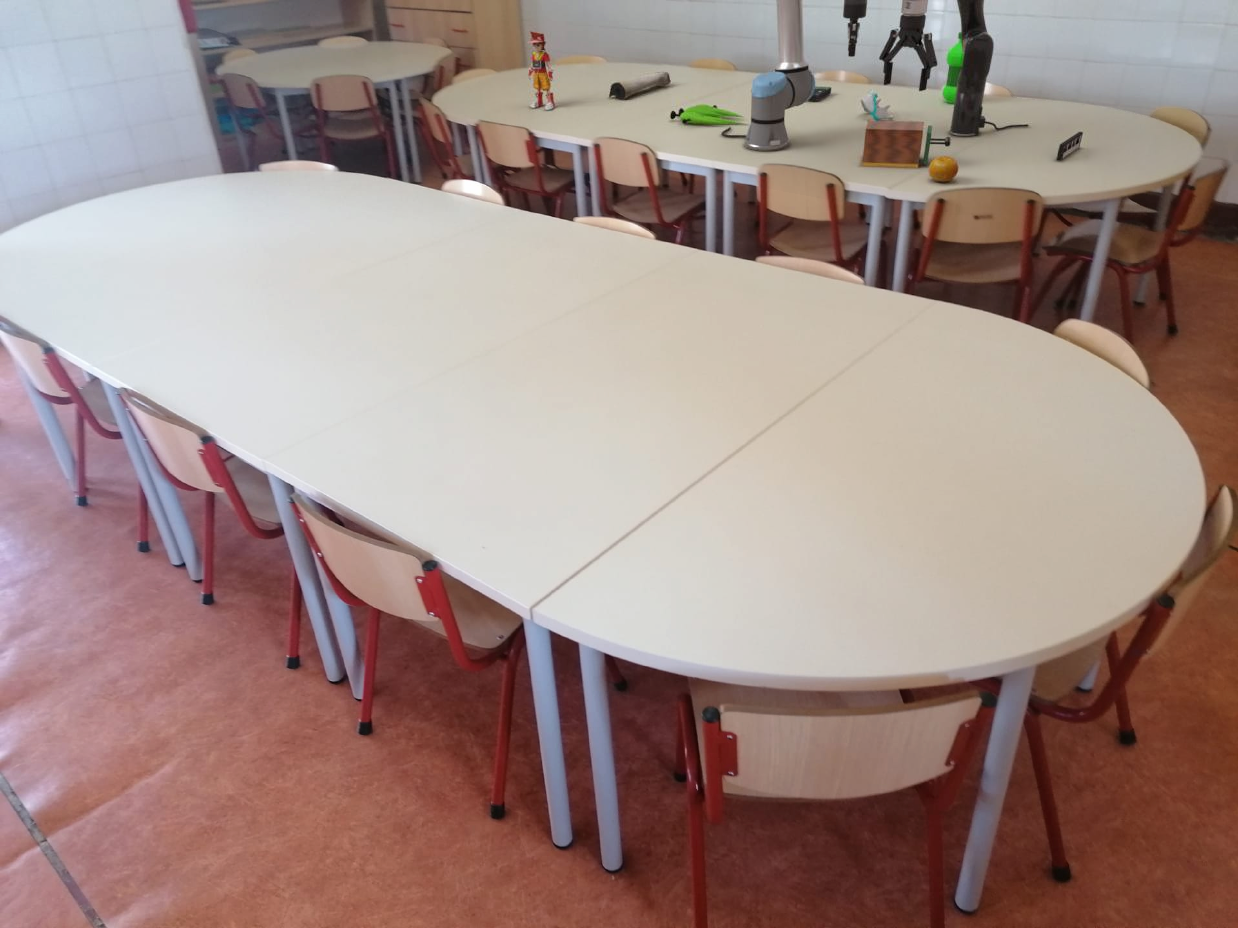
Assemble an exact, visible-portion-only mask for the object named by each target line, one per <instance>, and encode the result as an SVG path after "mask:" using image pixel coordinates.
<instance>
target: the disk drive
mask: <svg viewBox="0 0 1238 928" xmlns="http://www.w3.org/2000/svg"><path fill="white" fill-rule="evenodd" d="M831 93H832V87H830V86H816V85H815V90H814V93H813V95H812V96H811V98H810V99H809V100H808V101H807V102H819V101H821V100H823V99H824V98H826V97H828V96H829V95H831Z"/></svg>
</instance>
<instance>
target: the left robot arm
mask: <svg viewBox="0 0 1238 928" xmlns="http://www.w3.org/2000/svg"><path fill="white" fill-rule="evenodd" d="M775 2H776V20H777V21H776V22H777V45H778V46H777V48H778V49H777V50H778V63H777V64H776V66H775V67H774V71H768V72H763V73H760V74H758V75H756V76H755V77H754V78H753V80H752V82H751V91H750V92H751V93H750V94H751V98H750V99H751V101H750V107H751V108H750V123H749V126H748V127H749V128H748V130H747V134H726V133H727V132H728V131H730V130H731V129H732V126H729V127H728V128H726V129H725V130H723V131H722V132H721V136H722V137H724V138H742V139H743V138H745V140H744V146H745V148H747V149H749V150H751V151H752V150H753V151H758V152H774V151H780V150H783V149H785V148H788V146H789V135H788V131H787V128H786V124H785V115H786V114H785V113H786V110H789V109H791V108H795V107H799V106H801V105H803V104H805V103H807V102H809V101H808V100H809V99H810V98H811V96H812V95H813V93H814V90H815V86H816V78H815V76H814V74H813V72H812V71H811V70H810V67H809V63H808V62H807V61H806V60H805V55H804V54H805V53H804V52H805V51H804V15H803V13H804V12H803V0H776V1H775ZM928 4H929V0H902V2H901V11H900V13H901V15H900V18H899V19H900V20H899V26H898V27H899V28H893V29H891V30H890V32H889V37H888V39H887V41H886V43H885V45H884V47H883V49H882V51H881V53H880V55H879V57H878V59H879V60H880V61H882V62H883V70H882V73H883V74H884V76H883V77H884V78H883V86H888V85H891V83H892V75H893V66H894V62H893V59H894V58H895V57H896V56H897V54H898V53H899V52H900V51H901V49H903V48H910V49H913V50H915V52H916V54H917V56H918V58H919V60H920V62H921V64H922V66H923V67H922V68H921V70H920V79H919V85H918V92H924V91H926V90H927V87H928V86H927V85H928V80H930V78H931V71H932V68H935V67H937V66H938V60H937V56H936V51H935V47H934V43H933V33H932V32H928V33H924V29H925V26H926V20H927V15H926V14H927V12H928ZM898 38H899V40H898V41H897V39H898ZM896 41H897V42H896ZM895 43H896V44H895ZM894 44H895V46H894Z"/></svg>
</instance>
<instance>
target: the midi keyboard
mask: <svg viewBox="0 0 1238 928" xmlns="http://www.w3.org/2000/svg"><path fill="white" fill-rule="evenodd" d="M1083 134H1084V131H1078V132H1076V133H1075V134H1073V135H1072V136H1070V137H1069V138H1067V139H1066V140H1063V142H1061V143H1060V144H1059V146H1058V151H1057V156H1056V161H1061V160H1063V159H1064V158H1066V157H1067V156H1068V155H1069V154H1071V153H1073V152H1074V151H1076V150H1077V149H1078V148H1080V147H1081V142H1082V139H1083V138H1082V137H1083Z"/></svg>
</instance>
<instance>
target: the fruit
mask: <svg viewBox="0 0 1238 928" xmlns="http://www.w3.org/2000/svg"><path fill="white" fill-rule="evenodd" d="M958 172H959V164H958V162H957V161H956V159H955V158H953V157H951V156H949V155H942V156H938V157H935V158H934V159H932V160H931V161H930V163H929V166H928V175H929V177H930V178H931V179H932V180H933V181H935V182H939V183H941V182H942V183H945V182H949V181H951V180H953V179H954V178H955V177H956V176H957V174H958Z"/></svg>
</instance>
